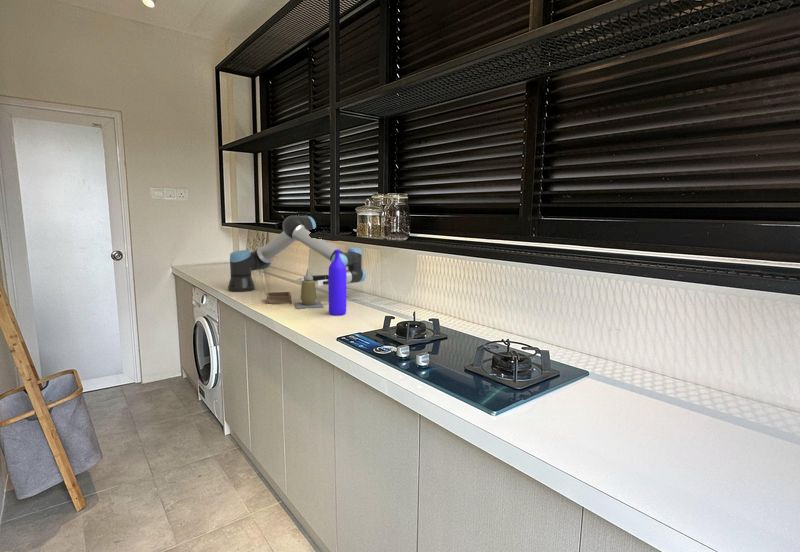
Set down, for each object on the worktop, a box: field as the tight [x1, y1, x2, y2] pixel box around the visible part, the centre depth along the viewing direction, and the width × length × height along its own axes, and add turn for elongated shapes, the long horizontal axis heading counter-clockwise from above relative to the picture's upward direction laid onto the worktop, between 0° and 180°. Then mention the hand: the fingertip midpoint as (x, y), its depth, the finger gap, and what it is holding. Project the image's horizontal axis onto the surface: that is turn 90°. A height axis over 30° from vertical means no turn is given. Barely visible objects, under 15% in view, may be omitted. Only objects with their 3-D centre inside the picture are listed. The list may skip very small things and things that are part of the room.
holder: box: [266, 291, 293, 305], centre depth 218 cm, size 12×12×4 cm
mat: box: [294, 300, 324, 310], centre depth 210 cm, size 13×13×1 cm
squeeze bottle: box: [300, 268, 317, 305], centre depth 209 cm, size 8×8×18 cm
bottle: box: [327, 249, 347, 317], centre depth 192 cm, size 8×8×30 cm
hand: (308, 281), depth 208 cm, fingers open, 13 cm apart
